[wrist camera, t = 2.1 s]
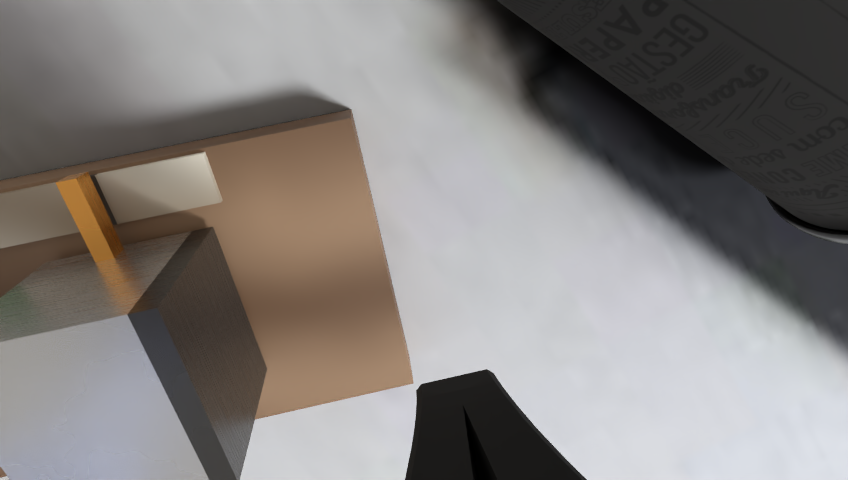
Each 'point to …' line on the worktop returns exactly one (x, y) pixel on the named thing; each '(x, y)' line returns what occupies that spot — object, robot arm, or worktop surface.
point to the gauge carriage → (127, 359)
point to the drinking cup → (731, 86)
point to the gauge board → (250, 245)
